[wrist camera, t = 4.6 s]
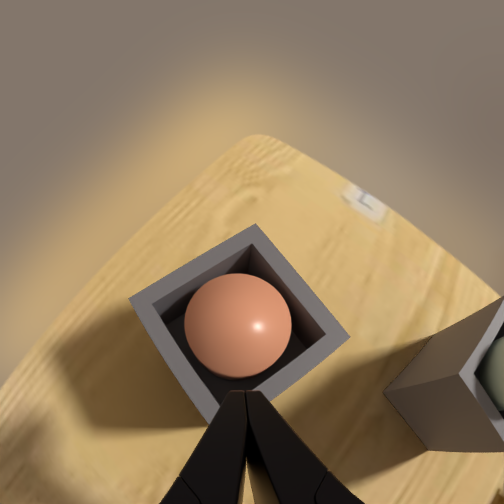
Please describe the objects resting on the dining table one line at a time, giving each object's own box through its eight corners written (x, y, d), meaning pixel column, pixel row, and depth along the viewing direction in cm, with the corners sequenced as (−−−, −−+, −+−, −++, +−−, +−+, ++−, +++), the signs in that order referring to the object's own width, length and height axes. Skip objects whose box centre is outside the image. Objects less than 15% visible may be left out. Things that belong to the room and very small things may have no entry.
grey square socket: (428, 450, 18) (509, 451, 10) (382, 392, 20) (458, 373, 12) (474, 389, 20) (550, 367, 12) (434, 334, 23) (506, 293, 15)
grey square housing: (221, 424, 19) (217, 436, 11) (164, 342, 21) (128, 298, 13) (304, 366, 21) (350, 337, 13) (245, 290, 23) (255, 223, 15)
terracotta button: (225, 398, 14) (225, 397, 12) (173, 323, 16) (164, 308, 13) (300, 345, 15) (312, 333, 13) (246, 277, 17) (249, 256, 15)
